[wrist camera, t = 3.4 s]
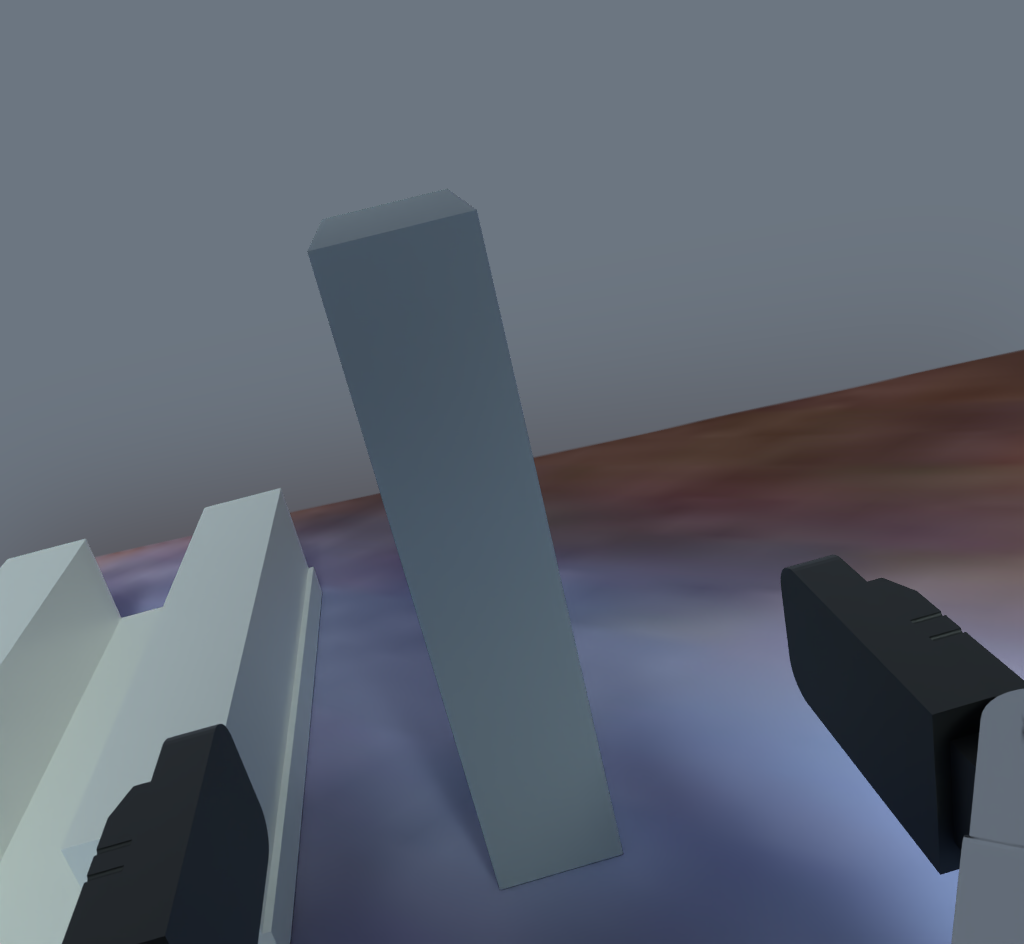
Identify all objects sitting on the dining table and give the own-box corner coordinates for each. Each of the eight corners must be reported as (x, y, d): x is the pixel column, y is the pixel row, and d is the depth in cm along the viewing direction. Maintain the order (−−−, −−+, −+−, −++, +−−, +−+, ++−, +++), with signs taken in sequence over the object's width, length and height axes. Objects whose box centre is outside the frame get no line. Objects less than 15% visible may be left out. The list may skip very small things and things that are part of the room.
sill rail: (322, 592, 37) (285, 486, 35) (288, 969, 20) (215, 805, 19) (53, 664, 36) (2, 560, 35) (-209, 1114, 20) (-333, 960, 18)
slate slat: (569, 705, 27) (447, 188, 21) (623, 853, 21) (476, 209, 16) (471, 732, 27) (322, 219, 21) (499, 889, 21) (307, 251, 16)
